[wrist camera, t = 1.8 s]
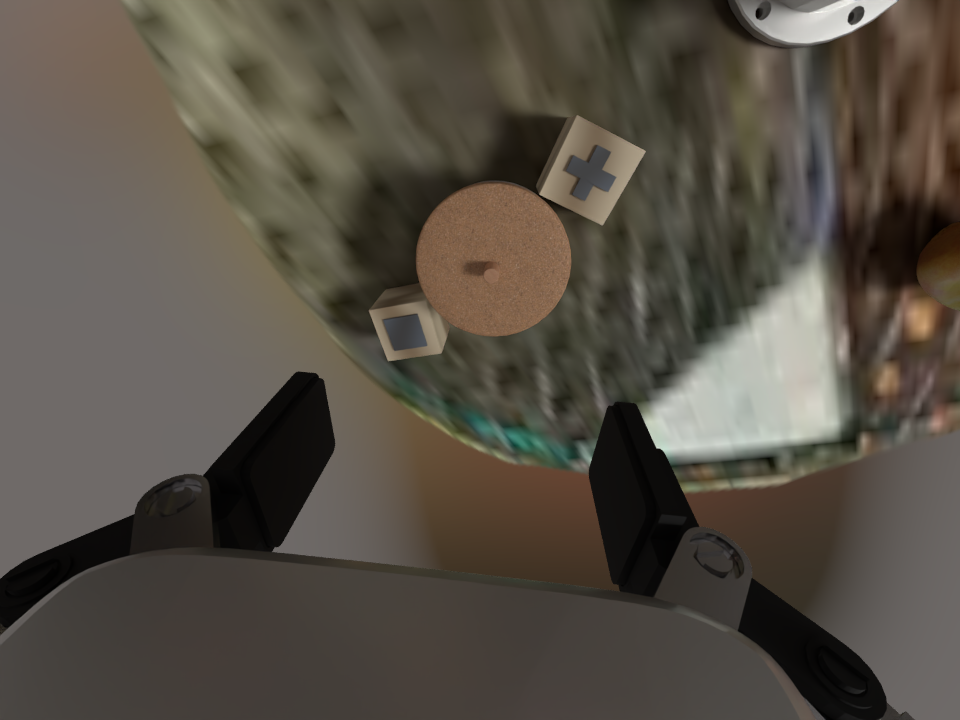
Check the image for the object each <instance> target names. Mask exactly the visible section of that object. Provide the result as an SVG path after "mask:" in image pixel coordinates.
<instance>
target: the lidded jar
mask: <svg viewBox="0 0 960 720" xmlns="http://www.w3.org/2000/svg"><path fill="white" fill-rule="evenodd" d="M570 268H571V250H570V245H569V240H568V237H567V234H566V232H565V229H564V226H563V224H562V223H561V221H560V219H559V218H558V216H557V214H556V213H555V212H554V211H553V209H552V208H551V207H550V206H549V205H548V204H547V203H546V202H545V201H544V200H543V199H541V198H540V197H539V196H538V195H537V194H535V193H534V192H532V191H530V190H529V189H527V188H525V187H523V186H520V185H518V184H515V183H511V182H506V181H484V182H478V183H475V184H472V185H469V186H466V187H464V188H461V189H460V190H458V191H456V192H454V193H452V194H451V195H449V196H448V197H447V198H446V199H444V200H443V201H442V202H441V203H440V204H439V205H438V206H437V207H436V208H435V209H434V210H433V211H432V213H431V214H430V215H429V217H428V219H427V220H426V222H425V223H424V225H423V228H422V230H421V233H420V235H419V239H418V243H417V247H416V271H417V275H418V279H419V283H420V286H421V288H422V290H423V293H424V295H425V296H426V298H427V300H428V301H429V303H430V304H431V306H432V307H433V308H434V309H435V310H436V312H437V313H438V314H440V315H441V316H442V317H443V318H444V319H445V320H447V321H448V322H449V323H451V324H452V325H454V326H456V327H458V328H460V329H462V330H464V331H467V332H470V333H473V334H477V335H483V336H505V335H510V334H514V333H518V332H521V331H523V330H526V329H528V328H530V327H532V326H533V325H535V324H537V323H538V322H540V321H541V320H542V319H543V318H545V317H546V316H547V315H548V314H549V313H550V312H551V311H552V310H553V308H554V307H555V306H556V304H557V303H558V302H559V300H560V299H561V297H562V295H563V293H564V291H565V288H566V286H567V283H568V279H569V276H570Z"/></svg>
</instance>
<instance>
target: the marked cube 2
mask: <svg viewBox="0 0 960 720" xmlns="http://www.w3.org/2000/svg"><path fill="white" fill-rule="evenodd" d="M645 152H646V151H644V150H642V149H641V148H639V147H637V146H635V145H633V144H631V143H629V142H627V141H625V140H624V139H622V138H620V137H618V136H616V135H614V134H612V133H610V132H608V131H606V130H605V129H603V128H601V127H599V126H597V125H595V124H593V123H591V122H589V121H587V120H586V119H584V118H582V117H580V116H578V115H575V116H571V117H567V119H566V121H565V124H564V126H563V128H562V130H561V132H560V134H559V137H558V139H557V141H556V143H555V145H554V147H553V149H552V152H551V154H550V156H549V158H548V160H547V162H546V165H545V167H544V169H543V171H542V173H541V175H540V178H539V180H538V182H537V184H536V188H537V190H538V193H539V195H541V196H543V197H545V198H547V199H549V200H551V201H553V202H555V203H557V204H560V205H562V206H564V207H566V208H568V209H570V210H572V211H574V212H576V213H578V214H580V215H582V216H584V217H586V218H588V219H590V220H593V221H595V222H597V223H599V224H601V225H603V224H604V222H605V221H606V219H607V217H608V215H609V214H610V212H611V210H612V209H613V207H614V205H615V203H616V202H617V200H618V198H619V197H620V195H621V193H622V191H623V190H624V188H625V186H626V184H627V183H628V181H629V179H630V178H631V176H632V174H633V172H634V171H635V169H636V167H637V166H638V164H639V162H640V160H641V159H642V157H643V155H644V154H645Z"/></svg>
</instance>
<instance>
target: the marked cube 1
mask: <svg viewBox="0 0 960 720" xmlns="http://www.w3.org/2000/svg"><path fill="white" fill-rule="evenodd" d="M369 313H370V315H371V318H372V321H373V323H374V326H375V328H376V331H377V334H378V336H379V339H380V341H381V344H382V346H383V349H384V352H385V354H386V357H387V359H388V361H393V360H399V359H406V358H413V357H420V356H426V355H433V354H440V353H442V351H443V347H444V344H445V341H446V338H447V335H448V332H449V329H450V328H449V324H448V321H447V320H445V319H444V318H443V317H442V316H441V315H440V314H438V313H437V312H436V310H435V309H434V308H433V307H432V306H431V304H430V303H429V301H428V300H427V298H426V296H425V295H424V293H423V290H422V288H421V286H420V283H417V284H412V285H406V286H401V287H395V288H390V289H385V291H384V292H383V293H382V294H381V296H380V297H379V298H378V299H377V301H376V302H375V303H374V304H373V306H372V307H371V308H370V309H369Z"/></svg>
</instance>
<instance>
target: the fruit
mask: <svg viewBox="0 0 960 720" xmlns="http://www.w3.org/2000/svg"><path fill="white" fill-rule="evenodd" d="M916 273H917V278H918V281H919V283H920V285H921V287H922V288H923V289H924V290H925V292H926V293H927V294H929V295H930V296H931V297H932V298H934V299H935V300H936V301H938V302H940V303H941V304H943V305H945V306H947V307H950V308H953V309H956V310H959V311H960V222H956V223H952V224H950V225H949V226H947V227H945V228H943V229H942V230H941V231H940V232H939V233H937V234H936V235H935V236H934V237H933V238H932V240H931V241H929V243H927V245H926V246H925V248H923V250H922V252H921V253H920V255H919V259H918V263H917V268H916Z"/></svg>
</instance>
